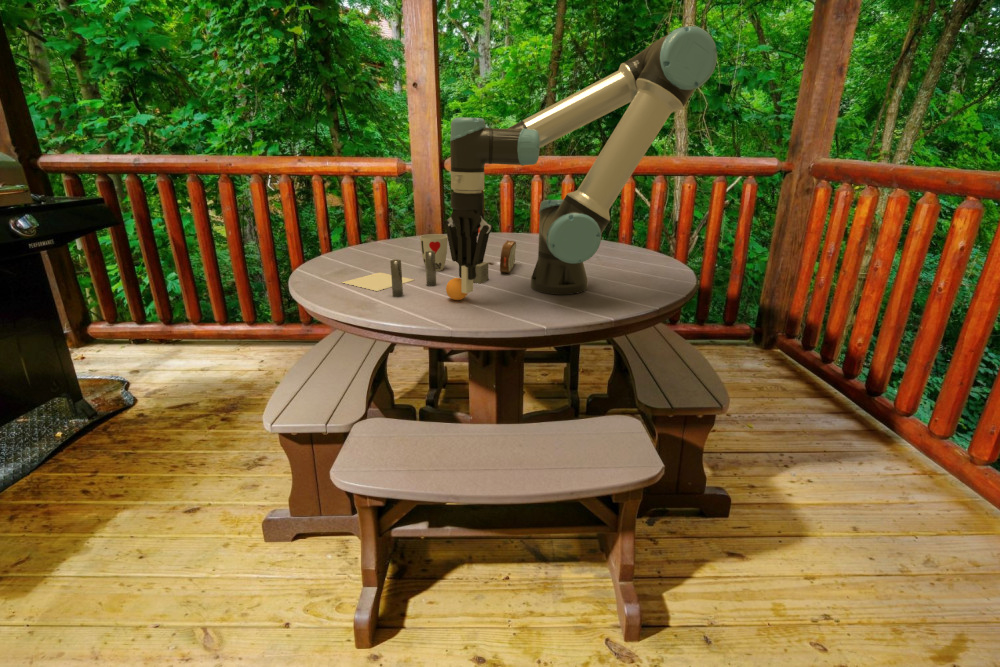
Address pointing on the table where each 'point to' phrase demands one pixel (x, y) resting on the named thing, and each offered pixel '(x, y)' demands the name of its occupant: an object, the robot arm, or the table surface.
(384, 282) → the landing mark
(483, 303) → the table surface
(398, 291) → the left post
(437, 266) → the cup
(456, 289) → the ball
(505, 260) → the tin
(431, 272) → the right post
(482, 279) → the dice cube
